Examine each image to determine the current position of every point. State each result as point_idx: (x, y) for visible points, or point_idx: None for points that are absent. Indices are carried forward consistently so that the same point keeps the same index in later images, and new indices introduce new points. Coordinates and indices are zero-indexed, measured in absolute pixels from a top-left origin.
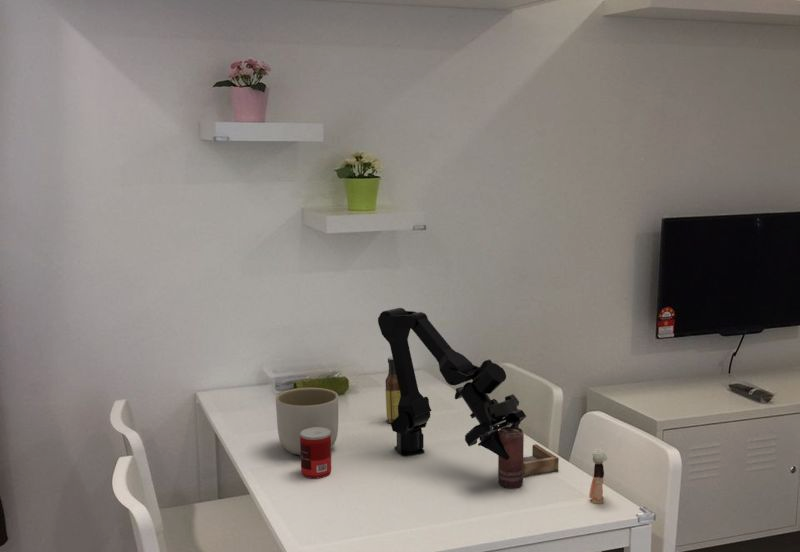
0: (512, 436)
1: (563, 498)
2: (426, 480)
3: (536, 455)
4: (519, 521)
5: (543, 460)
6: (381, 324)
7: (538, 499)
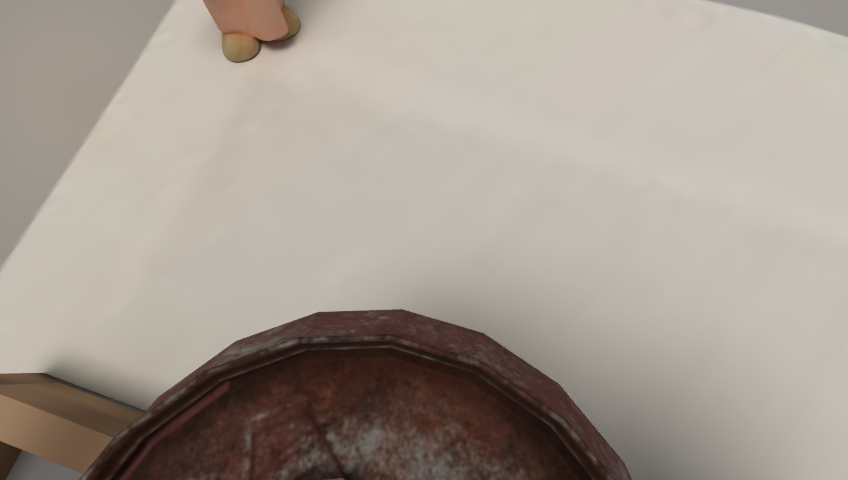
0: (548, 388)
1: (351, 124)
2: None
3: None
4: (687, 92)
5: (59, 421)
6: None
7: (449, 187)
